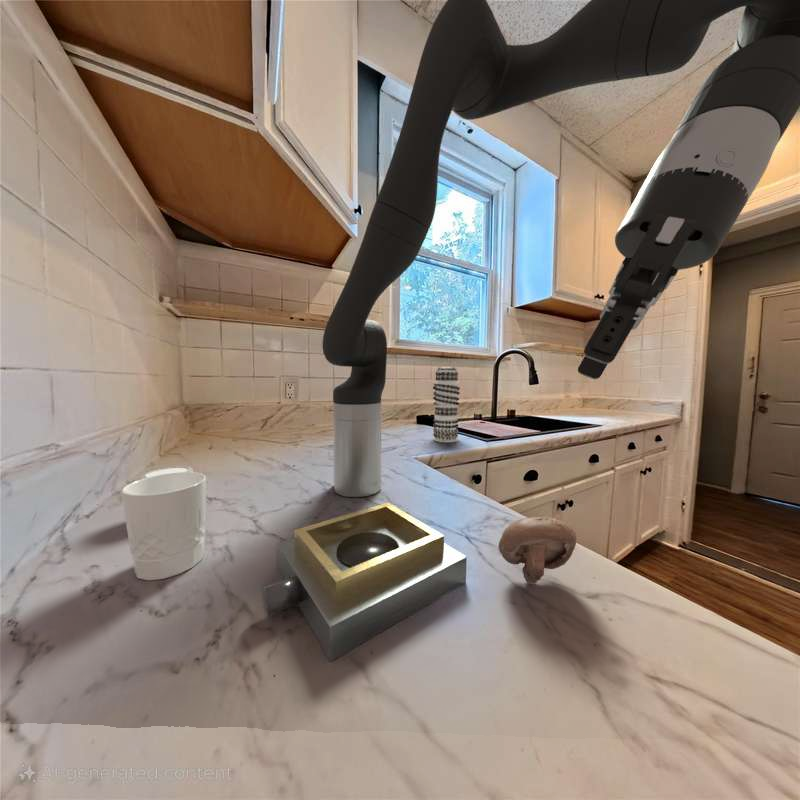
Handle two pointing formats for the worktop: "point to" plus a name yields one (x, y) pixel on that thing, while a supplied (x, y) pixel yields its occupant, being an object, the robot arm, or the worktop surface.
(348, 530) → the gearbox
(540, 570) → the mushroom
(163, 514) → the white cup
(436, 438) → the decorative candle
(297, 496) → the worktop surface
